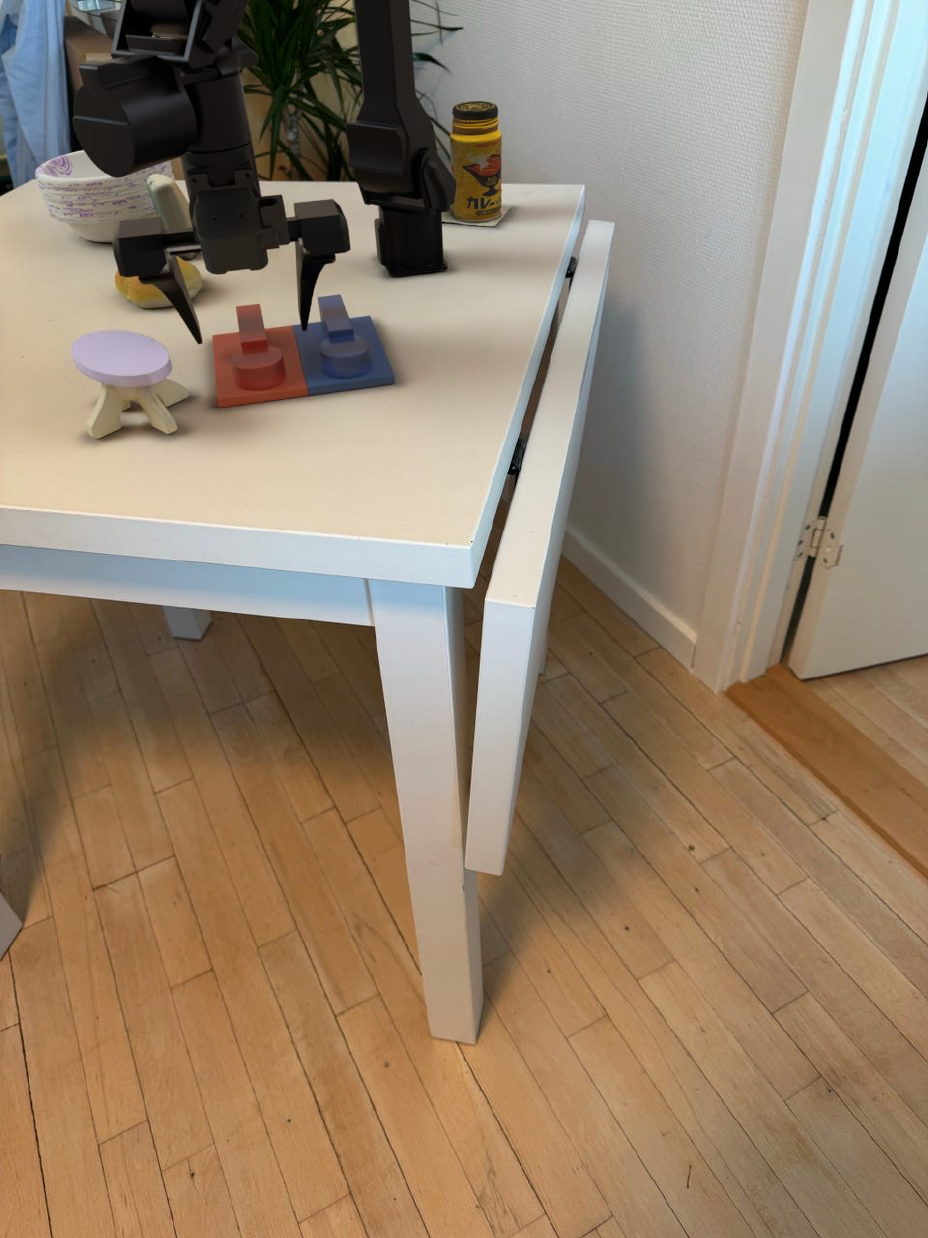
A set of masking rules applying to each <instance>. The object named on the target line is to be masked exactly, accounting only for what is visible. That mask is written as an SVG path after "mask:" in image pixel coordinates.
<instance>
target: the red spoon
mask: <svg viewBox="0 0 928 1238" xmlns="http://www.w3.org/2000/svg"><path fill="white" fill-rule="evenodd" d="M235 311H236V318H237V325H238V332H239V334H240V342H241V347H242V349H241V350H239V351H237V352H235V353H234V354H233V355H232V356H231V358H230V363H231V367H232V372H233V377H234V381H235V384H236V385H237V386H238V387H240V388H242V389H245V390H253V391H257V390H266V389H270V388H273V387H276V386H278V385H280V384H281V383H282V382H284V380H285V379H286V370H285V364H284V359H283V353H282V352H281V350H280V349H278V348H276V347H272V346H268V344H267V339H266V334H265V329H266V327H265V323H264V317H263V313H262V307H261V303H254V304H246V305H238V306H235Z"/></svg>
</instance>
